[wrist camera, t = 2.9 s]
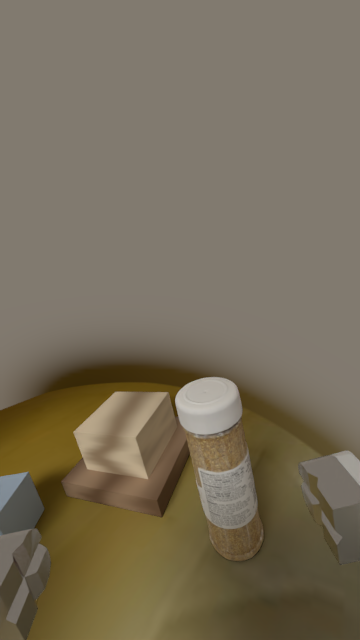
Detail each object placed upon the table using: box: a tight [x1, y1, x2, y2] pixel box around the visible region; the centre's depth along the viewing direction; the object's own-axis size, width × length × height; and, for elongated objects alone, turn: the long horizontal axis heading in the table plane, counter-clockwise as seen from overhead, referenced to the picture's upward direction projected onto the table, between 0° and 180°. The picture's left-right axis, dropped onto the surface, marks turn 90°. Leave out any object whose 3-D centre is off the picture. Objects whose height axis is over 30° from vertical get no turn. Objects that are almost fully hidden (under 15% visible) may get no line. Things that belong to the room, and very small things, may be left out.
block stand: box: [61, 392, 190, 517], centre depth 32 cm, size 12×12×7 cm
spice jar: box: [175, 377, 264, 561], centre depth 20 cm, size 5×5×14 cm
